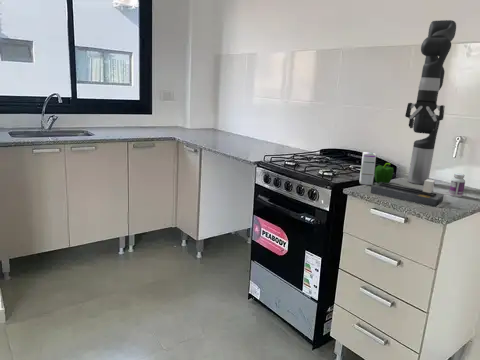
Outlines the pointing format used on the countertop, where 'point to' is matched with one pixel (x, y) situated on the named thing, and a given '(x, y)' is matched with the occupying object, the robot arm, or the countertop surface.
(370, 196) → the countertop surface
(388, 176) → the bell pepper
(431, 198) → the slider panel
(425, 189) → the fader knob
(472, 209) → the countertop surface
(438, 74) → the robot arm
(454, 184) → the pill bottle
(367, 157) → the syrup box
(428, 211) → the countertop surface
